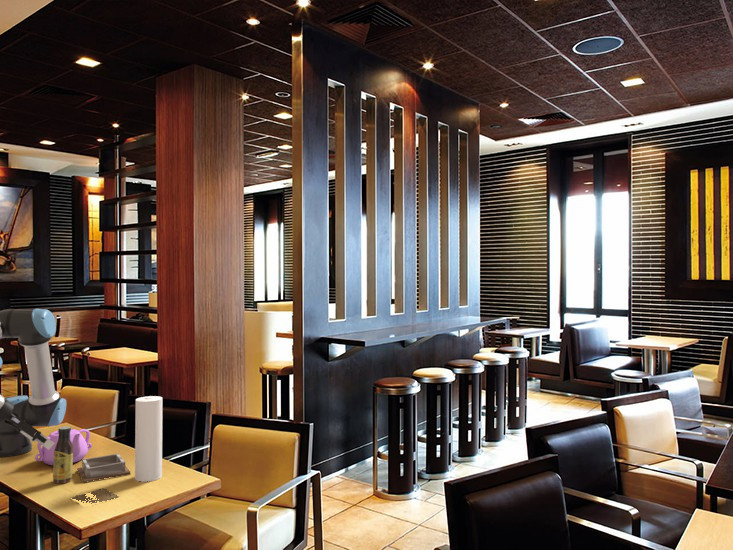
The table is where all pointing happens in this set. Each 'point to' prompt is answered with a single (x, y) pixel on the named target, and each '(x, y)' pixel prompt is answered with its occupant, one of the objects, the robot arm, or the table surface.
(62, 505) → the table surface
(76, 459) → the teapot
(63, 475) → the sauce bottle
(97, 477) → the grey square tray
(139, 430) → the cylinder container
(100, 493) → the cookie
